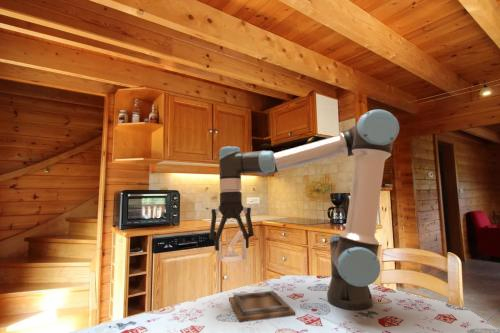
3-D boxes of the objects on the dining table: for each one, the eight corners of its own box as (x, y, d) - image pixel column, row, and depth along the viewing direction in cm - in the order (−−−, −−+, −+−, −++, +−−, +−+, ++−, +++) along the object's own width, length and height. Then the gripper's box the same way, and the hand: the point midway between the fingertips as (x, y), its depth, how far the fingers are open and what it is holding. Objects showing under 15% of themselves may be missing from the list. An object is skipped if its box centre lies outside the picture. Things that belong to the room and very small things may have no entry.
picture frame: (275, 295, 103) (275, 289, 103) (295, 315, 86) (295, 307, 86) (228, 300, 98) (228, 293, 99) (239, 322, 81) (239, 314, 81)
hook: (257, 245, 88) (239, 234, 87) (236, 275, 88) (218, 264, 87) (254, 237, 96) (238, 226, 95) (235, 265, 96) (218, 255, 95)
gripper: (255, 191, 101) (258, 254, 98) (199, 192, 95) (200, 259, 92) (262, 190, 93) (264, 258, 91) (201, 191, 88) (202, 264, 85)
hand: (232, 259), depth 92 cm, fingers closed on hook, 8 cm apart
